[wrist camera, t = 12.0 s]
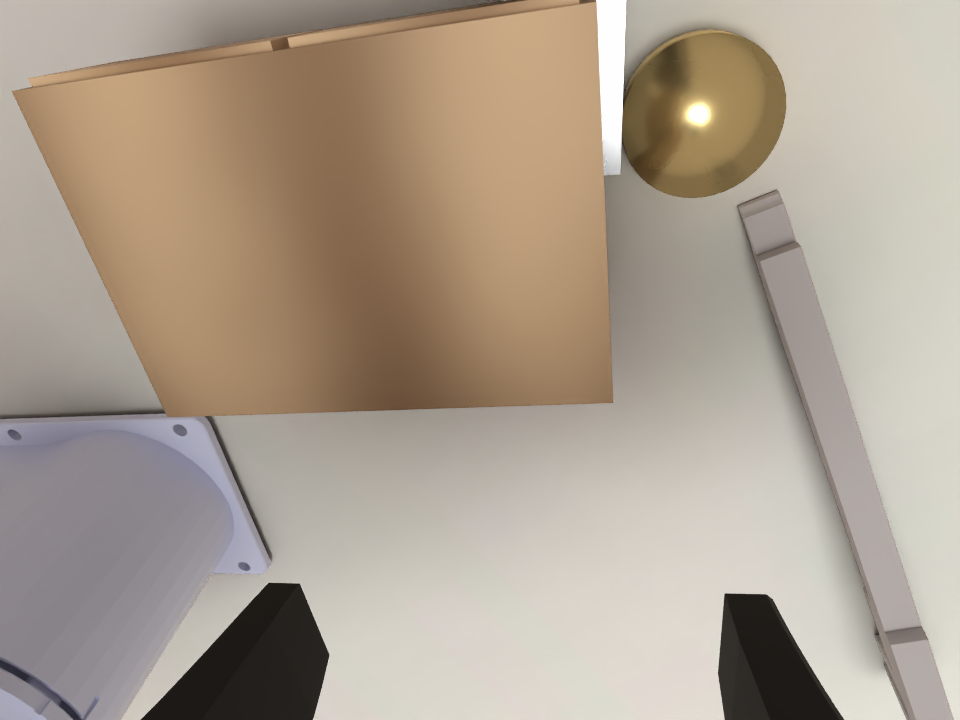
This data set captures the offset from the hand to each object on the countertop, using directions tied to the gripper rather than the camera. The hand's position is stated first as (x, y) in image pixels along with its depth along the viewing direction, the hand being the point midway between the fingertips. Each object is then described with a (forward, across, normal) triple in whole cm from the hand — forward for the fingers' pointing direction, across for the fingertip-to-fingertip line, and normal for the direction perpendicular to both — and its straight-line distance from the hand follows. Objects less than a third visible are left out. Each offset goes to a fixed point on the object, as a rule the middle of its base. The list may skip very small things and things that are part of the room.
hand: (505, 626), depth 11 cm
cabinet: (+10, +3, -6) cm, 12 cm away
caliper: (+10, -9, +6) cm, 15 cm away
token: (+10, -4, -6) cm, 13 cm away
